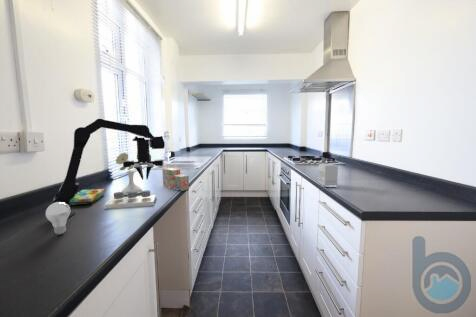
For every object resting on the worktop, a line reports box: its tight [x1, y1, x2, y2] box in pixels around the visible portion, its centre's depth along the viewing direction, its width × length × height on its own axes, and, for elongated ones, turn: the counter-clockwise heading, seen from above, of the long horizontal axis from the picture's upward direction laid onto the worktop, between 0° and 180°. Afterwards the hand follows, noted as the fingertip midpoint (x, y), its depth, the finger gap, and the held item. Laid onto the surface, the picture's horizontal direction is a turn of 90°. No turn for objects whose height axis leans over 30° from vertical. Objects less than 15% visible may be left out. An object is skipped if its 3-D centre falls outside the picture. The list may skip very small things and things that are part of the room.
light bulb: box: [45, 202, 72, 236], centre depth 80 cm, size 7×7×12 cm
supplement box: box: [318, 163, 339, 186], centre depth 149 cm, size 9×9×15 cm
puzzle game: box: [70, 188, 107, 206], centre depth 120 cm, size 12×5×20 cm
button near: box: [113, 191, 125, 199], centre depth 114 cm, size 4×4×2 cm
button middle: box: [127, 191, 138, 198], centre depth 116 cm, size 4×4×2 cm
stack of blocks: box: [161, 167, 190, 192], centre depth 147 cm, size 21×6×12 cm, turn 48°
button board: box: [104, 194, 157, 210], centre depth 115 cm, size 12×22×2 cm, turn 103°
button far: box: [140, 190, 151, 197], centre depth 117 cm, size 4×4×2 cm
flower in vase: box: [115, 152, 143, 196], centre depth 130 cm, size 13×11×25 cm
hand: (144, 179), depth 116 cm, fingers closed
